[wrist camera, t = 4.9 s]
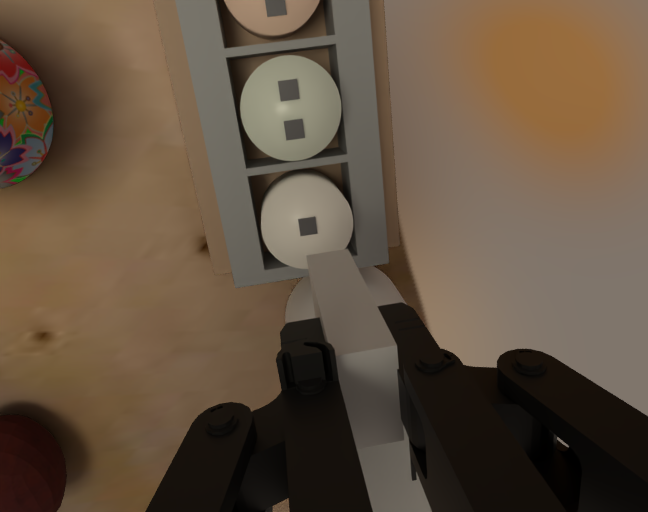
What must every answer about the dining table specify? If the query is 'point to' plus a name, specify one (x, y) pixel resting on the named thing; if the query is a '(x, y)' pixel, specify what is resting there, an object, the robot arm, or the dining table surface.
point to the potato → (29, 467)
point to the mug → (22, 118)
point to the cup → (394, 458)
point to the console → (256, 166)
